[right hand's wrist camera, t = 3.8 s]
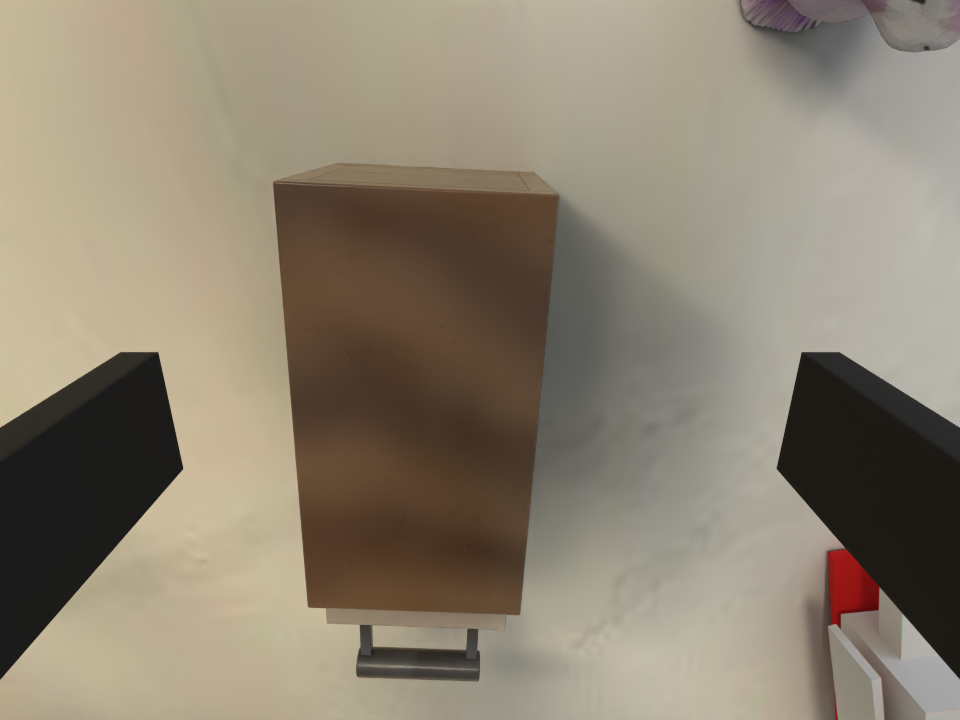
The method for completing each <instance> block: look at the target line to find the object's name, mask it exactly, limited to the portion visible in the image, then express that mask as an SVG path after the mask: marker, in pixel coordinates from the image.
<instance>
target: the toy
mask: <svg viewBox="0 0 960 720" xmlns="http://www.w3.org/2000/svg"><path fill="white" fill-rule="evenodd" d="M828 561H829V583H830V605H831V625H829V626H828V633H829V642H830V651H831V660H832V669H833V678H834V693H835V714H836V720H960V679H959V678H958V677H957V676H956V675H955V674H954V672H953V671H952V670H951V669H950V668H949V667H948V665H947V664H946V663H945V662H944V661H943V660H942V659H941V657H940V656H939V655H938V654H937V653H936V652H935V651H934V649H933V648H932V647H931V646H930V645H929V644H928V642H927V641H926V640H925V639H924V638H923V637H922V636H921V634H920V633H919V632H918V631H917V630H916V629H915V628H914V626H913V625H912V624H911V623H910V622H909V621H908V619H907V618H906V617H905V616H904V615H903V614H902V613H901V611H900V610H899V609H898V608H897V607H896V606H895V604H894V603H893V602H892V601H891V600H890V599H889V598H888V596H887V595H886V594H885V593H884V592H883V591H882V590H881V588H880V587H879V586H878V585H877V584H876V583H875V581H874V580H873V579H872V578H871V577H870V576H869V575H868V573H867V572H866V571H865V570H864V569H863V568H862V566H861V565H860V564H859V563H858V562H857V561H856V560H855V558H854V557H853V556H852V555H851V554H850V553H849V552H848V550H847V549H846V550H838V551H831V552H828Z"/></svg>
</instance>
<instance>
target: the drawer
mask: <svg viewBox="0 0 960 720" xmlns="http://www.w3.org/2000/svg"><path fill="white" fill-rule="evenodd" d="M326 614H327V623H328V624H356V625H360V642H361V647H360V649H359V652H358V657H357V666H356V674H357V677H363V678H392V679H421V680H450V681H479V675H480V651H478V650H477V643H478V629H495V630H504V629H505V619H506V615H501V614H473V613H446V612H418V611H390V610H363V609H335V608H326ZM372 625H383V626H411V627H439V628H467V647H466V650H451V649H423V648H395V647H373V635H372Z"/></svg>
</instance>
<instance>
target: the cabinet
mask: <svg viewBox="0 0 960 720" xmlns="http://www.w3.org/2000/svg"><path fill="white" fill-rule="evenodd" d="M273 188H274V200H275V212H276V224H277V236H278V249H279V261H280V273H281V285H282V297H283V310H284V322H285V334H286V346H287V358H288V370H289V383H290V395H291V407H292V419H293V431H294V444H295V456H296V468H297V480H298V492H299V504H300V517H301V529H302V541H303V553H304V565H305V578H306V590H307V602H308V607H309V608H335V609H363V610H390V611H418V612H446V613H473V614H501V615H520V610H521V599H522V589H523V578H524V567H525V557H526V546H527V535H528V525H529V514H530V503H531V493H532V482H533V471H534V460H535V450H536V439H537V428H538V418H539V407H540V396H541V386H542V375H543V364H544V354H545V343H546V332H547V322H548V311H549V300H550V289H551V279H552V268H553V257H554V247H555V236H556V225H557V215H558V204H559V195H558V194H557V193H556V192H555V191H554V190H553V189H552V188H551V187H550V186H548V185H547V184H546V183H545V182H544V181H543V180H542V179H541V178H540V177H539V176H538V175H536V174H535V173H531V172H510V171H490V170H469V169H449V168H428V167H407V166H387V165H366V164H345V163H337V164H333V165H329V166H325V167H322V168H318V169H315V170H311V171H308V172H304V173H300V174H297V175H293V176H290V177H286V178H283V179H280V180H277V181H274V182H273Z"/></svg>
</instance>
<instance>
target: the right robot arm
mask: <svg viewBox="0 0 960 720" xmlns="http://www.w3.org/2000/svg"><path fill="white" fill-rule="evenodd" d="M182 470H183V465H182V460H181V456H180V451H179V446H178V442H177V437H176V432H175V428H174V423H173V419H172V414H171V409H170V405H169V400H168V395H167V391H166V386H165V381H164V377H163V372H162V368H161V363H160V358H159V354H158V352H120V353H119V354H117V355H116V356H114V357H112V358H111V359H109V360H108V361H106V362H104V363H103V364H101V365H100V366H98V367H96V368H95V369H93V370H92V371H90V372H88V373H87V374H85V375H84V376H82V377H80V378H79V379H77V380H76V381H74V382H72V383H71V384H69V385H68V386H66V387H65V388H63V389H61V390H60V391H58V392H57V393H55V394H53V395H52V396H50V397H49V398H47V399H45V400H44V401H42V402H41V403H39V404H37V405H36V406H34V407H33V408H31V409H29V410H28V411H26V412H25V413H23V414H21V415H20V416H18V417H17V418H15V419H13V420H12V421H10V422H9V423H7V424H5V425H4V426H2V427H1V428H0V679H1V678H2V677H3V676H4V675H5V674H6V672H7V671H8V670H9V669H10V668H11V667H12V665H13V664H14V663H15V662H16V661H17V660H18V659H19V657H20V656H21V655H22V654H23V653H24V652H25V651H26V649H27V648H28V647H29V646H30V645H31V644H32V642H33V641H34V640H35V639H36V638H37V637H38V636H39V634H40V633H41V632H42V631H43V630H44V629H45V627H46V626H47V625H48V624H49V623H50V622H51V621H52V619H53V618H54V617H55V616H56V615H57V614H58V613H59V611H60V610H61V609H62V608H63V607H64V606H65V604H66V603H67V602H68V601H69V600H70V599H71V598H72V596H73V595H74V594H75V593H76V592H77V591H78V590H79V588H80V587H81V586H82V585H83V584H84V583H85V581H86V580H87V579H88V578H89V577H90V576H91V575H92V573H93V572H94V571H95V570H96V569H97V568H98V566H99V565H100V564H101V563H102V562H103V561H104V560H105V558H106V557H107V556H108V555H109V554H110V553H111V552H112V550H113V549H114V548H115V547H116V546H117V545H118V543H119V542H120V541H121V540H122V539H123V538H124V537H125V535H126V534H127V533H128V532H129V531H130V530H131V528H132V527H133V526H134V525H135V524H136V523H137V522H138V520H139V519H140V518H141V517H142V516H143V515H144V514H145V512H146V511H147V510H148V509H149V508H150V507H151V505H152V504H153V503H154V502H155V501H156V500H157V499H158V497H159V496H160V495H161V494H162V493H163V492H164V490H165V489H166V488H167V487H168V486H169V485H170V484H171V482H172V481H173V480H174V479H175V478H176V477H177V476H178V474H179V473H180V472H181V471H182ZM777 470H778V471H779V472H780V473H781V474H782V476H783V477H784V478H785V479H786V480H787V481H788V482H789V484H790V485H791V486H792V487H793V488H794V489H795V490H796V492H797V493H798V494H799V495H800V496H801V497H802V499H803V500H804V501H805V502H806V503H807V504H808V505H809V507H810V508H811V509H812V510H813V511H814V512H815V514H816V515H817V516H818V517H819V518H820V519H821V520H822V522H823V523H824V524H825V525H826V526H827V527H828V528H829V530H830V531H831V532H832V533H833V534H834V535H835V537H836V538H837V539H838V540H839V541H840V542H841V543H842V545H843V546H844V547H845V548H846V549H847V550H848V552H849V553H850V554H851V555H852V556H853V557H854V558H855V560H856V561H857V562H858V563H859V564H860V565H861V566H862V568H863V569H864V570H865V571H866V572H867V573H868V575H869V576H870V577H871V578H872V579H873V580H874V581H875V583H876V584H877V585H878V586H879V587H880V588H881V590H882V591H883V592H884V593H885V594H886V595H887V596H888V598H889V599H890V600H891V601H892V602H893V603H894V604H895V606H896V607H897V608H898V609H899V610H900V611H901V613H902V614H903V615H904V616H905V617H906V618H907V619H908V621H909V622H910V623H911V624H912V625H913V626H914V628H915V629H916V630H917V631H918V632H919V633H920V634H921V636H922V637H923V638H924V639H925V640H926V641H927V642H928V644H929V645H930V646H931V647H932V648H933V649H934V651H935V652H936V653H937V654H938V655H939V656H940V657H941V659H942V660H943V661H944V662H945V663H946V664H947V665H948V667H949V668H950V669H951V670H952V671H953V672H954V674H955V675H956V676H957V677H958V678H959V679H960V428H959V427H958V426H956V425H955V424H953V423H951V422H950V421H948V420H947V419H945V418H943V417H942V416H940V415H939V414H937V413H935V412H934V411H932V410H931V409H929V408H927V407H926V406H924V405H923V404H921V403H919V402H918V401H916V400H915V399H913V398H911V397H910V396H908V395H907V394H905V393H903V392H902V391H900V390H899V389H897V388H895V387H894V386H892V385H891V384H889V383H887V382H886V381H884V380H883V379H881V378H880V377H878V376H876V375H875V374H873V373H872V372H870V371H868V370H867V369H865V368H864V367H862V366H860V365H859V364H857V363H856V362H854V361H852V360H851V359H849V358H848V357H846V356H844V355H843V354H841V353H840V352H802V354H801V358H800V363H799V368H798V372H797V377H796V381H795V386H794V391H793V395H792V400H791V405H790V409H789V414H788V419H787V423H786V428H785V432H784V437H783V442H782V446H781V451H780V456H779V460H778V465H777Z"/></svg>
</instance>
